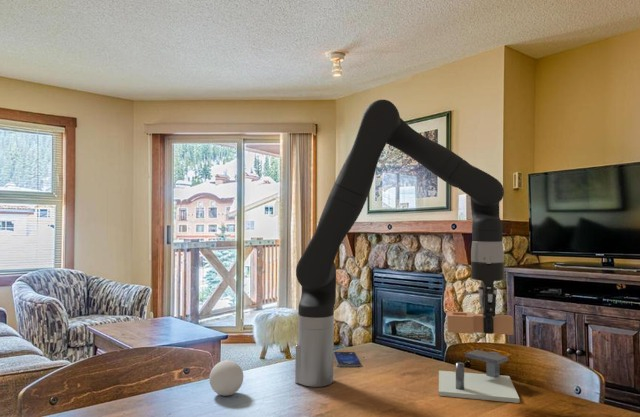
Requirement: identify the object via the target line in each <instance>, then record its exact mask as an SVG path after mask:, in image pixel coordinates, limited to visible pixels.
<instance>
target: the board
mask: <svg viewBox="0 0 640 417" xmlns="http://www.w3.org/2000/svg"><path fill="white" fill-rule="evenodd" d="M438 396H440V397H441V396H442V397H452V398H464V399H473V400H483V401H493V402H495V401H496V402H505V403H515V404H520V397H519V394H518V392H517V390H516V387H515V386H514V383H513V381H512V379H511V376H509V375H500V376H498V377H496V378H494V377H490V376H486V373H475V372H473V373H472V372H464V390H458V389H456V371H449V370H438Z"/></svg>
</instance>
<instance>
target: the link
mask: <svg viewBox="0 0 640 417" xmlns="http://www.w3.org/2000/svg"><path fill="white" fill-rule="evenodd" d="M493 326H494V332H493V334H492V335H495V334H496V335H497V334H498V335H511V336H512V335H514V316H512V315H510V314H509V315H507V314H496V315H495V317H494V318H493ZM446 329H447V330H446V331H447V333H452V334H453V333H454V334H471V335H474V334H485V333H484V328H483V314H482V313H473V312H466V311H452V310H451V311H449V310H448V311H447V312H446Z"/></svg>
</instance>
